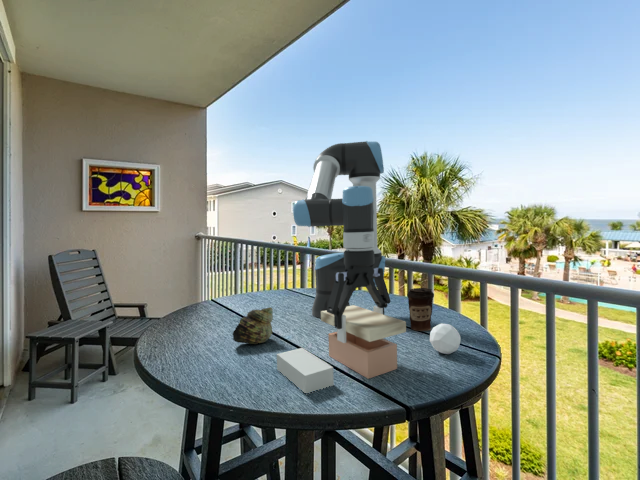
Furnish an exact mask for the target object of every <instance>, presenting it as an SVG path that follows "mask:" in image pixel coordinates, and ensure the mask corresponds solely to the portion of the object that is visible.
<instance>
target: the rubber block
mask: <svg viewBox="0 0 640 480" xmlns="http://www.w3.org/2000/svg"><path fill="white" fill-rule="evenodd" d="M278 370H279V371H280V372H281V373H282V374H283V375H284V376H286V377H287V378H288V379H289V380H290V381H292V382H293V383H294V384H295V385H296V386H297V387H299V388H300V389H301V390H302V391H303V392H304V393H309V392H312V391H315V390H318V391H320V390H319V389H321V390H323V388H324V389H327V388H330V387H333V386H335V385H334V367H333V366H332V365H331V364H330V363H327V362H326V361H324V360H323V359H322V358H321V359H320V357H317V356H316V355H314V354H313V353H311V352H310V351H307V350H306V348H303V347H299V348H296V349H292V350H287V351H285V352H280V353H276V371H278ZM279 371H278V372H279ZM280 372H279V373H280ZM281 373H280V374H281ZM282 374H281V375H282ZM283 375H282V376H283ZM286 377H285V378H286ZM287 378H286V379H287ZM288 379H287V380H288ZM289 380H288V381H289ZM293 383H292V384H293ZM294 384H293V385H294ZM295 385H294V386H295ZM296 386H295V387H296ZM329 386H330V387H329ZM297 387H296V388H297ZM326 387H327V388H326ZM300 389H299V390H300ZM301 390H300V391H301ZM302 391H301V392H302ZM303 392H302V393H303ZM315 392H316V391H315ZM304 393H303V394H304ZM312 393H313V392H312ZM309 394H310V393H309Z"/></svg>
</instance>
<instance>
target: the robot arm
mask: <svg viewBox="0 0 640 480" xmlns="http://www.w3.org/2000/svg"><path fill="white" fill-rule="evenodd" d="M312 168H313V176H312V179H311V182H310V183H309V187H308V190H307V193H306V197H305V199H300V200H295V202H294V204H293V208H292V209H293V211H292V212H293V215H292V216H293V219H294V220H293V221H294V223H295V225H296V226H298V227H308V228H311V227H331V226H332V227H335V226H336V227H338V226H339V227H340V226H341V227H342V226H343V236H342V237H343V238H342V239H343V244H342V245H343V248H344V249H345V250H344V251H343V252H335V253H329V254H324V255H323V254H322V255H320V256H317V257H316V258H315V263H314V265H315V266H314V271H315V272H314V273H315V276H314V277H315V297H314V300H313V304H312V307H311V315H312V316H313V317H315V318H319V319H321V311H325V310H327V312H328V313H331V314H333V315H334V323H335V327H334V328H335V329H336V332H337V340H338V341H340V342H342V343H346V316H345V315H343V313H344V311H345V308H346V306H351V305H350V299H351V297H352V295H353V293H354V292H355V291H356V290H357V288H366V290H367V292H368V294H369V296H370V297H371V299H372V300H373V302H374V304H375V305H373V307H372V308H373V311H374V312H377V313H380V314H383V315H385V309H387V308H388V305H389V304H391V303H392V302H391V298H390V294H389V291H388V288H387V285H386V281H385V271H386V270H385V269H386V256H384V255H382V250H380V248H378V218H377V213H378V212H377V210H378V209H377V182H378V181H379V180H380V179H381V174H384V173H385V172H384V171H385V168H384V159H383V153H382V147H381V144H380V142H378V141H368V140H366V141H356V142H355V141H354V142H346V143H345V142H342V143H341V142H340V143H335V144H333V145H331V146H328V147H326V148H325V149H324V150H323V151H321V152H320V153H319V154H318V155H317V156H316V158H315V161H314V163H313V167H312ZM338 176H348V181H349V182H351V184H352V186H347V187H344V188H343V190H342V198H332V195H333V191H334V186H335V182H336V181H335V180H336V178H337V177H338Z"/></svg>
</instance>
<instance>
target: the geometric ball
mask: <svg viewBox="0 0 640 480" xmlns="http://www.w3.org/2000/svg"><path fill="white" fill-rule="evenodd" d="M429 333H430V334H429V342H430V344H431V346H432V347H433V349H434V350H435V351H437V352H439V353H440V354H445V355H450V354H452V353H455V352H457V351H458V349H459V347H460V344H461V335H460V332H459V331H458V330H457V329H456V328H455V327H454V326H453V325H452V324H448V323H439V324H437V325H436V326H435V325H434V327H432V328H431V330H430V332H429Z"/></svg>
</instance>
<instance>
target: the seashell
mask: <svg viewBox="0 0 640 480" xmlns="http://www.w3.org/2000/svg"><path fill="white" fill-rule="evenodd" d="M273 310H274V309H273V307H266V308H261V309H252V310H250V311H249V312H248V313H247V314H246V315H244V316H243V317H242V318H240V320H239V323H238V324H237V326H236V327H235V329H234V330H233V332H232V337H233V338H232V340H233V341H234V342H236V343H240V344H249V345H256V344H257V345H258V343H259V344H262V343H265V342H267V341H268V340H269V339H270V338H271V336H272V335H273V326H272V322H273V319H274V317H273V314H274V311H273Z"/></svg>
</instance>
